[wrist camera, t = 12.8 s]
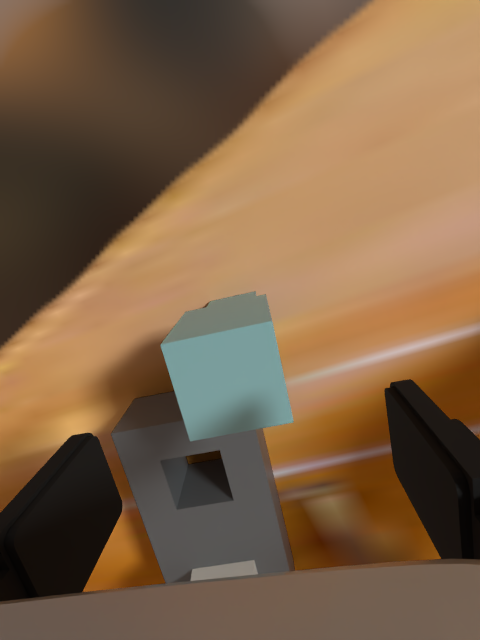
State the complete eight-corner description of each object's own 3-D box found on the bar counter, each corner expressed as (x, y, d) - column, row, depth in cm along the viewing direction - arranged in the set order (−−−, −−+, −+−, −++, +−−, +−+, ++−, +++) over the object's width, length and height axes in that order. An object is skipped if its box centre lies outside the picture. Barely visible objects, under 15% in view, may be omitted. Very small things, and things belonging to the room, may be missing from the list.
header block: (250, 376, 27) (250, 469, 17) (293, 562, 32) (315, 723, 22) (134, 398, 28) (65, 501, 18) (194, 576, 33) (168, 738, 23)
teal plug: (262, 280, 25) (272, 320, 14) (275, 341, 27) (293, 422, 16) (198, 294, 26) (160, 344, 15) (214, 354, 27) (190, 441, 16)
